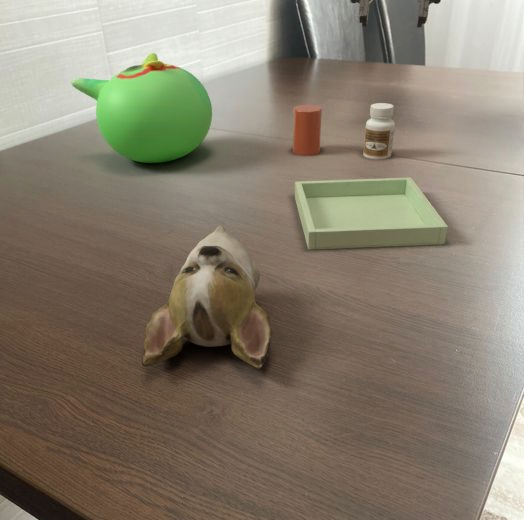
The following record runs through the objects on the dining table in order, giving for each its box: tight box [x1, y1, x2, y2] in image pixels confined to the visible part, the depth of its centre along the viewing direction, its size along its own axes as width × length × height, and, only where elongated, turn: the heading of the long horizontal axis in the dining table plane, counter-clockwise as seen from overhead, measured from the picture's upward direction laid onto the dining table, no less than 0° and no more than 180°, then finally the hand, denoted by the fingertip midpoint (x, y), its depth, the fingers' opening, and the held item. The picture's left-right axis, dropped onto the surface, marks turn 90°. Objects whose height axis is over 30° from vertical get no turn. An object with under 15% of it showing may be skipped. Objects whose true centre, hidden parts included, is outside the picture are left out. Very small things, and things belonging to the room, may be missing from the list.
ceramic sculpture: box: [141, 225, 273, 370], centre depth 48 cm, size 11×9×15 cm
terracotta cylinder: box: [292, 104, 323, 157], centre depth 88 cm, size 4×4×7 cm
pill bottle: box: [362, 102, 396, 160], centre depth 86 cm, size 4×4×8 cm
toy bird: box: [70, 52, 213, 164], centre depth 85 cm, size 18×17×15 cm
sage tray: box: [294, 177, 449, 250], centre depth 68 cm, size 16×16×2 cm
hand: (392, 23), depth 87 cm, fingers open, 8 cm apart
